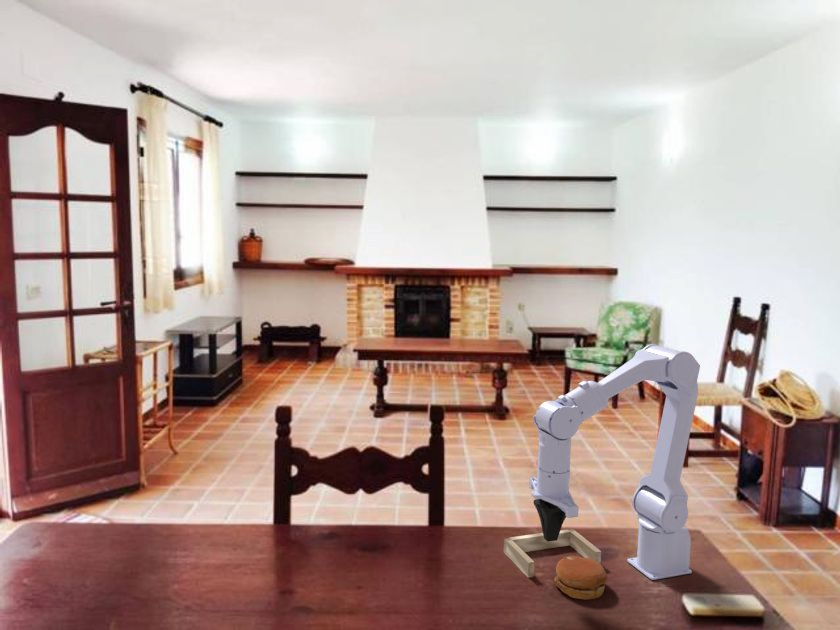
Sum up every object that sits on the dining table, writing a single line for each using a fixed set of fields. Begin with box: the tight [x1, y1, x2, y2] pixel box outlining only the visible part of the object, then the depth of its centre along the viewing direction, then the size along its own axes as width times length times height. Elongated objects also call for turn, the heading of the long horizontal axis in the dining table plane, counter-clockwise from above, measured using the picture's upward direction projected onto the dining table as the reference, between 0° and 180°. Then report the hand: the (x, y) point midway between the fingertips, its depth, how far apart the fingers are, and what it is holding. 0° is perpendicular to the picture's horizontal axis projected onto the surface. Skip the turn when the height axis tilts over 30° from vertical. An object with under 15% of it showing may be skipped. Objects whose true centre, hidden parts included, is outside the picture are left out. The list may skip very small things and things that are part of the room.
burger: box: [553, 555, 609, 600], centre depth 125 cm, size 10×9×5 cm
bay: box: [503, 528, 602, 578], centre depth 135 cm, size 16×11×3 cm
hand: (550, 539), depth 123 cm, fingers closed
